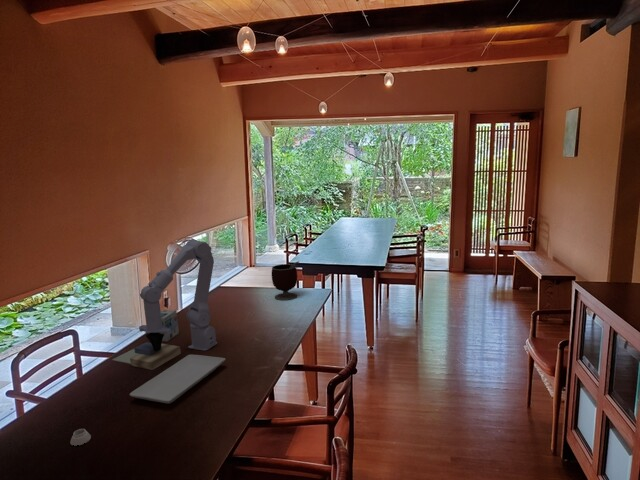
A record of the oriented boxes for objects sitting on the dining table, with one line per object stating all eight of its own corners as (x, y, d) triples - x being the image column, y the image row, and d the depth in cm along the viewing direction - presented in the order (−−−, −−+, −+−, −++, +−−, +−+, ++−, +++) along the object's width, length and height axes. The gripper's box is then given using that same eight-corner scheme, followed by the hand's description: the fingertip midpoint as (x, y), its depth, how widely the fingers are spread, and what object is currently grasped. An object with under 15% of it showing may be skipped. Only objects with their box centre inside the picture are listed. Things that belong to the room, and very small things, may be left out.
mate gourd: (270, 301, 243) (267, 264, 240) (277, 293, 257) (274, 258, 253) (298, 301, 241) (296, 264, 237) (303, 293, 254) (301, 258, 251)
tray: (128, 403, 146) (127, 393, 146) (190, 361, 175) (189, 353, 174) (170, 411, 140) (169, 401, 139) (227, 366, 168) (226, 357, 168)
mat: (157, 350, 186) (157, 350, 186) (132, 364, 174) (132, 363, 174) (137, 347, 191) (137, 346, 191) (111, 360, 179) (111, 359, 179)
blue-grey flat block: (161, 349, 179) (161, 344, 179) (150, 355, 174) (149, 350, 174) (146, 346, 183) (146, 342, 182) (134, 352, 178) (134, 348, 177)
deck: (180, 353, 182) (179, 346, 181) (152, 370, 169) (151, 362, 168) (160, 350, 187) (159, 343, 186) (131, 365, 173) (130, 358, 173)
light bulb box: (167, 342, 195) (164, 318, 193) (153, 341, 196) (150, 317, 194) (179, 332, 205) (177, 309, 203) (166, 332, 206) (163, 309, 205)
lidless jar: (85, 446, 124) (94, 435, 129) (84, 436, 124) (92, 426, 129) (67, 447, 124) (76, 436, 129) (65, 438, 124) (74, 427, 129)
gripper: (131, 318, 173) (135, 351, 176) (159, 322, 167) (164, 357, 170) (145, 312, 180) (149, 344, 182) (173, 316, 173) (177, 349, 176)
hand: (157, 350), depth 176 cm, fingers closed
